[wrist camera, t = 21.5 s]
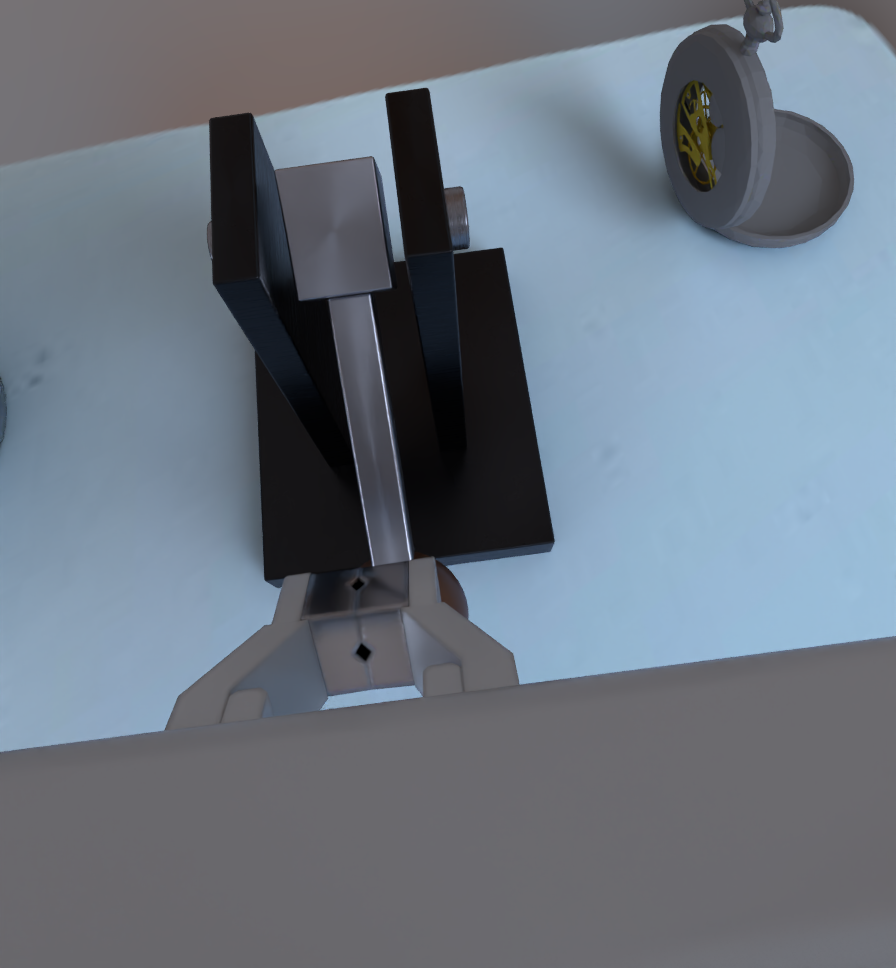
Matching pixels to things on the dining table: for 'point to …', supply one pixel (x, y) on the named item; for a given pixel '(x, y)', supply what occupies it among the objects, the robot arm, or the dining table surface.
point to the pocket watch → (747, 141)
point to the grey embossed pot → (2, 411)
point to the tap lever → (357, 333)
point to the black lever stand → (409, 362)
